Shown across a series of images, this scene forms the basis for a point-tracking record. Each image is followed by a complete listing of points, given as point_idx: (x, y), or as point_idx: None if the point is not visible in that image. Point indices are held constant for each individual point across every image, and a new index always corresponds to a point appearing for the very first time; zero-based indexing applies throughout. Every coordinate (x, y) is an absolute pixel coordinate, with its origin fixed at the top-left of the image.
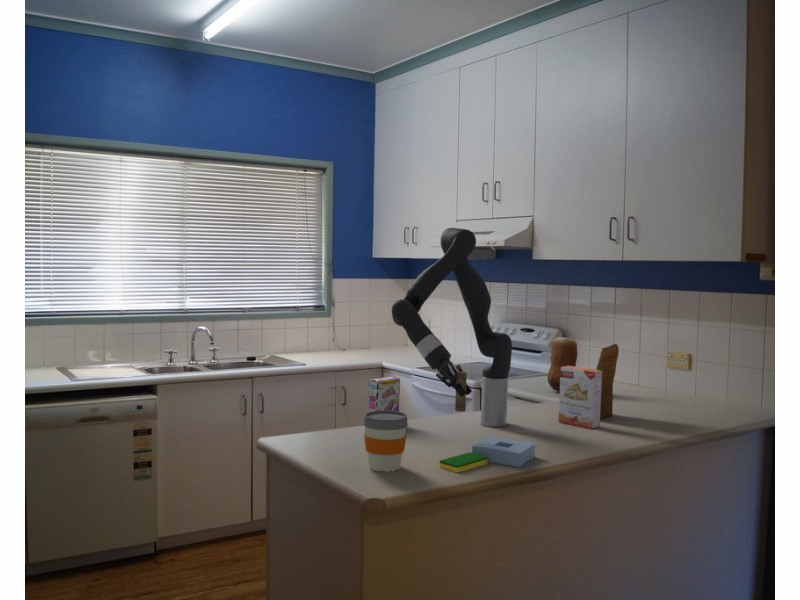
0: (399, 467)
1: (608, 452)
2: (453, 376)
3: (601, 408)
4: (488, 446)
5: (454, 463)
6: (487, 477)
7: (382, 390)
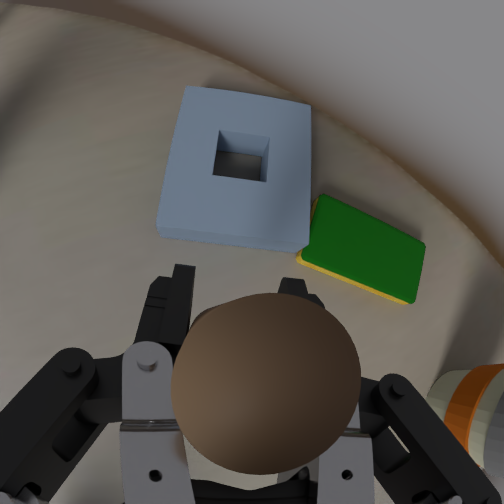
0: (450, 371)
1: (93, 20)
2: (362, 440)
3: None
4: (291, 193)
5: (417, 257)
6: (406, 179)
7: None
